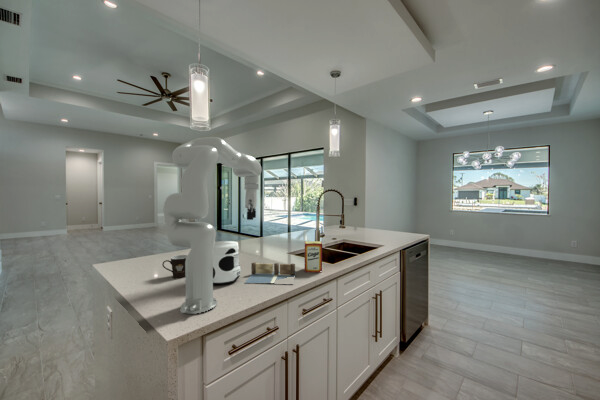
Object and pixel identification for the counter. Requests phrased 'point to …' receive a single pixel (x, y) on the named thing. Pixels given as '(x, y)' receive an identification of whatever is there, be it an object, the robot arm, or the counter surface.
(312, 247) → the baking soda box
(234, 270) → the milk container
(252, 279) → the card
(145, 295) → the counter surface
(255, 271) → the fence panel
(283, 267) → the fence fixed
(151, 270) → the counter surface
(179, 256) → the coffee mug
